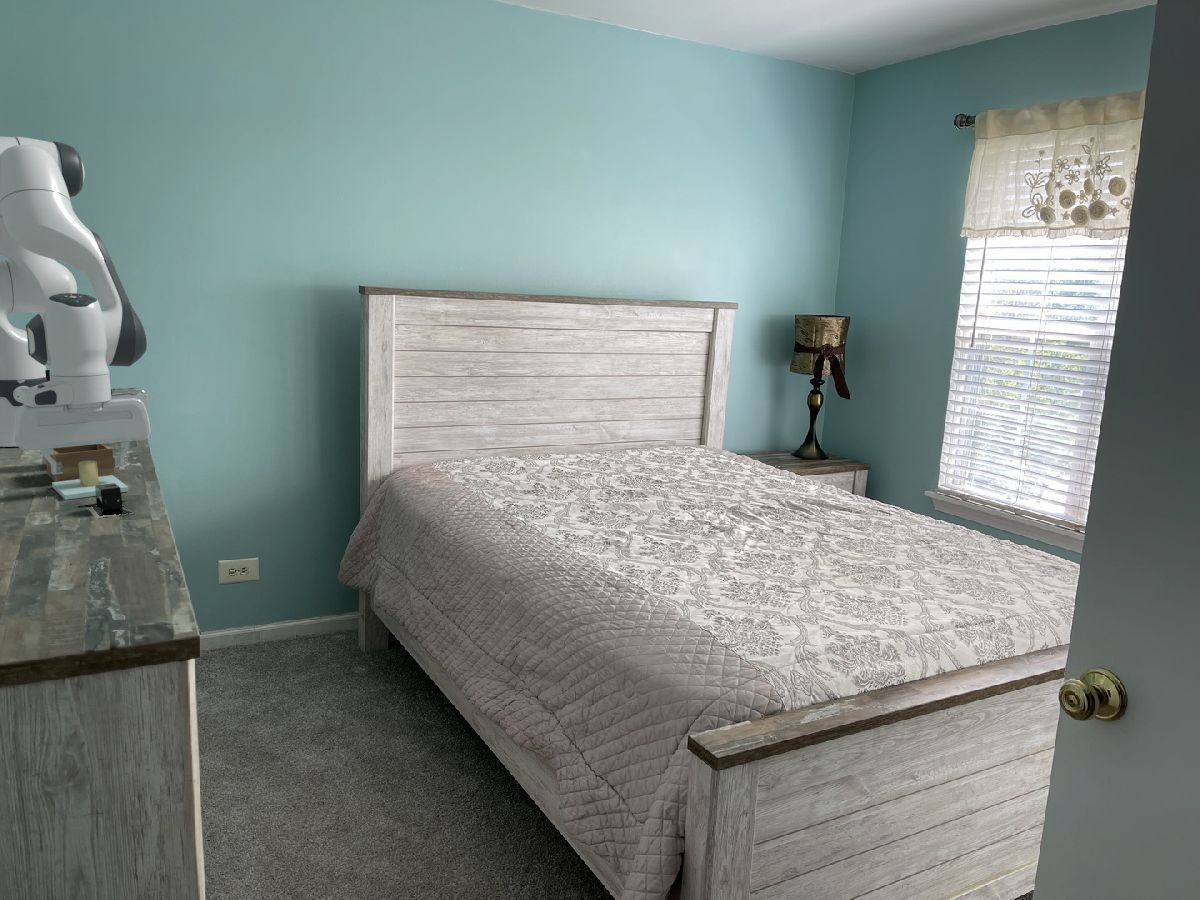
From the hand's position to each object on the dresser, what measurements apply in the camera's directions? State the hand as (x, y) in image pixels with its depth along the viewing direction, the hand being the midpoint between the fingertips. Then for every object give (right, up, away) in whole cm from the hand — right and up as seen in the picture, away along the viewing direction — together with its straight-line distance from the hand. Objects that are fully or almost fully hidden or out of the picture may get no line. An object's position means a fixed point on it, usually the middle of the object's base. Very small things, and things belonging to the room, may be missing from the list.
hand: (88, 470), depth 155 cm
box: (-7, -2, +10) cm, 13 cm away
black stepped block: (+9, -7, -9) cm, 15 cm away
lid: (0, -3, +1) cm, 3 cm away
